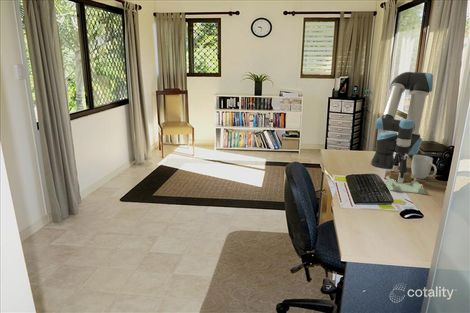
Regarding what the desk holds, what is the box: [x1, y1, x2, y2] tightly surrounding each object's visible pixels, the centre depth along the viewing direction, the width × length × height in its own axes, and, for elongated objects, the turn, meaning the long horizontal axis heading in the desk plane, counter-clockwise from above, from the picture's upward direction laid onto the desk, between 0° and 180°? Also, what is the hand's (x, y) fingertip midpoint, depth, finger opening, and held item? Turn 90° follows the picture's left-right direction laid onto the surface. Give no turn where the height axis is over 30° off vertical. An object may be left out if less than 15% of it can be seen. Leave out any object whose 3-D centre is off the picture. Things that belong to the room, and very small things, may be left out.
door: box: [384, 169, 412, 182], centre depth 214 cm, size 6×13×6 cm, turn 95°
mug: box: [411, 154, 438, 180], centre depth 218 cm, size 15×11×13 cm
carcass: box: [384, 176, 427, 195], centre depth 199 cm, size 13×19×5 cm
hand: (397, 179), depth 215 cm, fingers open, 13 cm apart
